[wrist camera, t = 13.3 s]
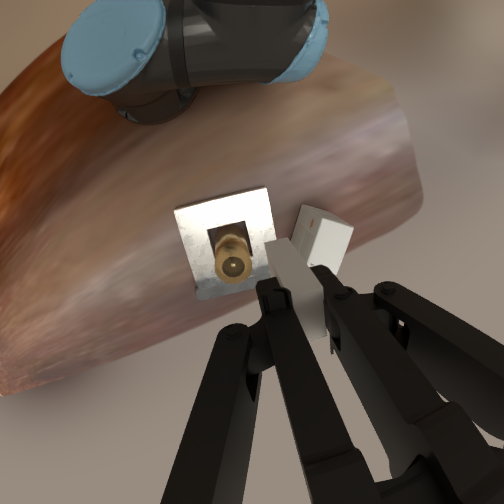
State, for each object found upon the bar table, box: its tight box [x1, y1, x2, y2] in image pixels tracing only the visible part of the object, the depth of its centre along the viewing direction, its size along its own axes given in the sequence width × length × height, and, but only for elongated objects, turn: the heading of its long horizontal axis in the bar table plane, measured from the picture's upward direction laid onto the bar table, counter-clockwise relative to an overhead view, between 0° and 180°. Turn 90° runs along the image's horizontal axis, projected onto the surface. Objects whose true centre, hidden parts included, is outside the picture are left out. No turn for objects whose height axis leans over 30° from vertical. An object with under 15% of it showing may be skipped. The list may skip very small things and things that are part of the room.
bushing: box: [214, 225, 252, 284], centre depth 42 cm, size 5×5×12 cm
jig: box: [174, 186, 276, 301], centre depth 45 cm, size 15×15×6 cm
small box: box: [291, 204, 354, 275], centre depth 43 cm, size 8×6×10 cm
